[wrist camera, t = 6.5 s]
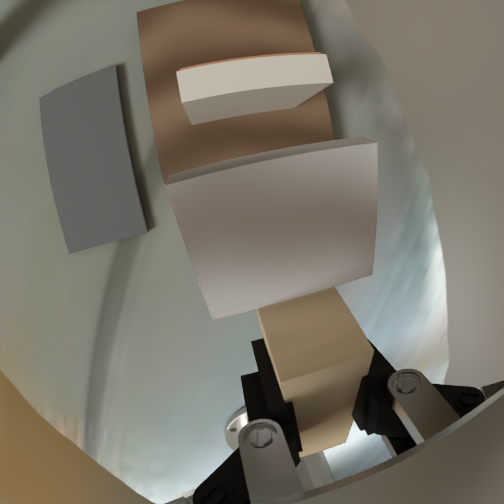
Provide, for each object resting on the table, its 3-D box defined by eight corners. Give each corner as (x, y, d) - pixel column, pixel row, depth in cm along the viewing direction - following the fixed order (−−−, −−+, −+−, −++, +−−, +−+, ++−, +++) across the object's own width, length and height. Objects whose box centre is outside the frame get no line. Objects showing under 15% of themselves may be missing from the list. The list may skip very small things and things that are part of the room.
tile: (293, 108, 21) (333, 83, 13) (192, 125, 20) (181, 102, 13) (288, 85, 20) (325, 51, 13) (187, 101, 20) (175, 68, 12)
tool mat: (149, 230, 23) (147, 232, 23) (72, 251, 23) (69, 253, 22) (117, 66, 19) (115, 64, 18) (42, 99, 18) (39, 98, 18)
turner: (346, 380, 15) (371, 431, 12) (253, 409, 14) (267, 466, 11) (362, 136, 7) (451, 177, 4) (168, 175, 7) (152, 247, 4)
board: (329, 152, 24) (336, 151, 22) (167, 183, 23) (164, 184, 21) (292, -2, 19) (296, -9, 17) (140, 19, 18) (136, 12, 16)
